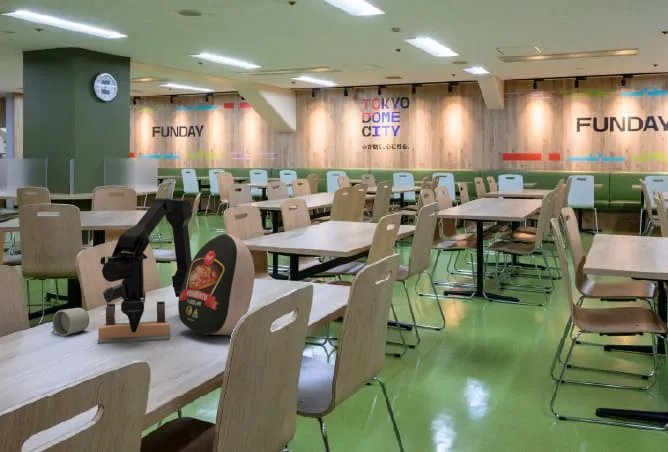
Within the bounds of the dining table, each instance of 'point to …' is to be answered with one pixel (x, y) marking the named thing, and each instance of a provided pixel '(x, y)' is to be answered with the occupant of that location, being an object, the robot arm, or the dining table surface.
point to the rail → (125, 331)
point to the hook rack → (160, 319)
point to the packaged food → (217, 286)
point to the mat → (133, 339)
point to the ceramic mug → (70, 321)
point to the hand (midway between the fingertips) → (134, 328)
